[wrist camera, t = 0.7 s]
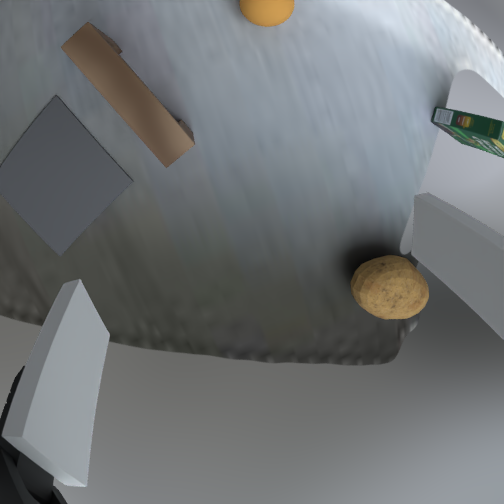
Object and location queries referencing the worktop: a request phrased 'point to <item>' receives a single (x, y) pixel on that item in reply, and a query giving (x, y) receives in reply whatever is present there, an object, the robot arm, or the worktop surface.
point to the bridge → (128, 94)
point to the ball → (267, 11)
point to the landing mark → (60, 177)
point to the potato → (389, 287)
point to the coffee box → (472, 129)
